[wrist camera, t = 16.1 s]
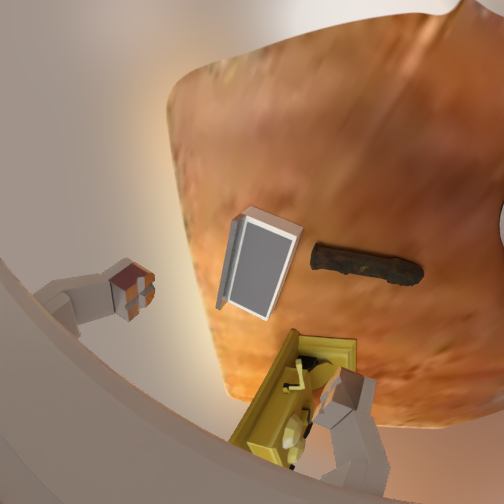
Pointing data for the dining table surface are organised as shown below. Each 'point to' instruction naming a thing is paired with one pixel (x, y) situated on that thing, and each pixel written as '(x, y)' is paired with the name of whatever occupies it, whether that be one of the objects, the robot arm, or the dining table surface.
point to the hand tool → (366, 265)
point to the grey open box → (257, 261)
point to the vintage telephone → (291, 397)
